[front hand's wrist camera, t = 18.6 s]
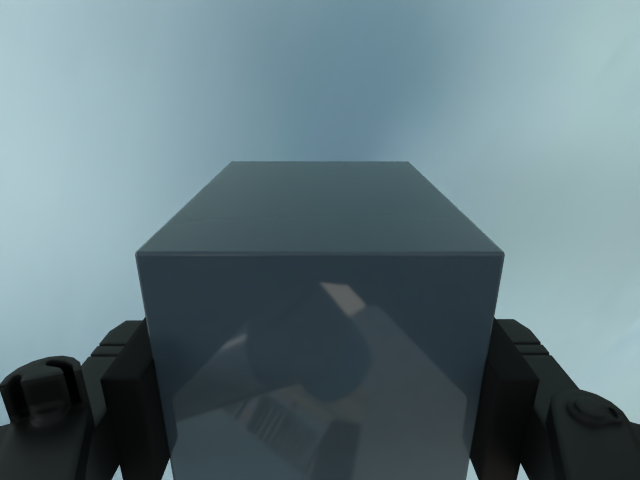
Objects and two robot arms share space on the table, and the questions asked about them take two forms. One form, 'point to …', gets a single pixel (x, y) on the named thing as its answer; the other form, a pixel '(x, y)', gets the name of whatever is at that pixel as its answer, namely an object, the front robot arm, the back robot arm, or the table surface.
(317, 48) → the table surface
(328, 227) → the grey rectangular block
